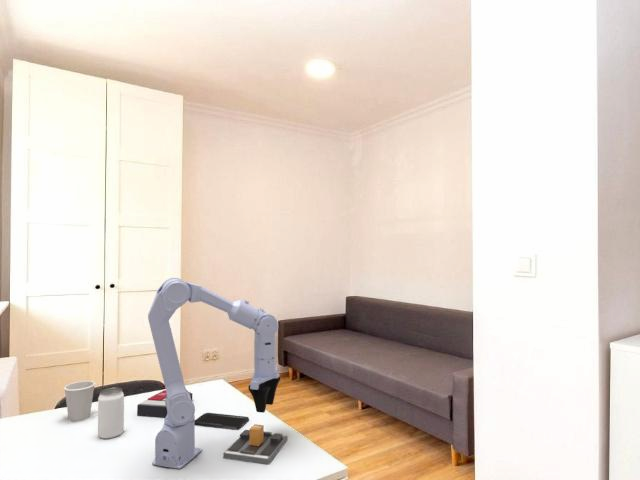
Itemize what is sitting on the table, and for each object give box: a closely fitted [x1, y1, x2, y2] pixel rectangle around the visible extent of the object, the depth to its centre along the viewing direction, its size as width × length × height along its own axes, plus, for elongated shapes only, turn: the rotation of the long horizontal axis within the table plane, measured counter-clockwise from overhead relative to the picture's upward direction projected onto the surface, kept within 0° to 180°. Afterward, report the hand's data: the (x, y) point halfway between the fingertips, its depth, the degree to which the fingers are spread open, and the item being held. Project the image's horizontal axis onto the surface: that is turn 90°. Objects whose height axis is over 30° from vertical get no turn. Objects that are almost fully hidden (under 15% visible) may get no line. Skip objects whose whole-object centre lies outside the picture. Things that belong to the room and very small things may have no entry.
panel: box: [222, 429, 288, 465], centre depth 106 cm, size 13×12×2 cm
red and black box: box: [136, 389, 193, 419], centre depth 134 cm, size 11×4×15 cm
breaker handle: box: [249, 423, 265, 446], centre depth 106 cm, size 3×3×4 cm
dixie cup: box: [63, 380, 96, 422], centre depth 126 cm, size 8×8×10 cm
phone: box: [195, 412, 250, 431], centre depth 122 cm, size 8×1×15 cm
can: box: [97, 387, 125, 440], centre depth 115 cm, size 6×6×12 cm
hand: (264, 407), depth 111 cm, fingers open, 5 cm apart
